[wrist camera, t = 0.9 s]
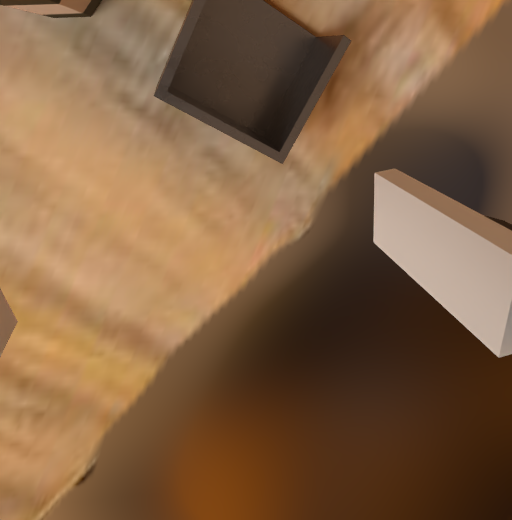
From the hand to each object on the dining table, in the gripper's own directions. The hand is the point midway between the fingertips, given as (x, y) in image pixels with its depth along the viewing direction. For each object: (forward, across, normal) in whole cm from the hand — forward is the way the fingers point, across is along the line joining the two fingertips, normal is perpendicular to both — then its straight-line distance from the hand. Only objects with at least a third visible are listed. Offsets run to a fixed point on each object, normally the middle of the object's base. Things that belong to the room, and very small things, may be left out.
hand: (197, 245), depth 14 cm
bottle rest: (+32, +8, +4) cm, 33 cm away
